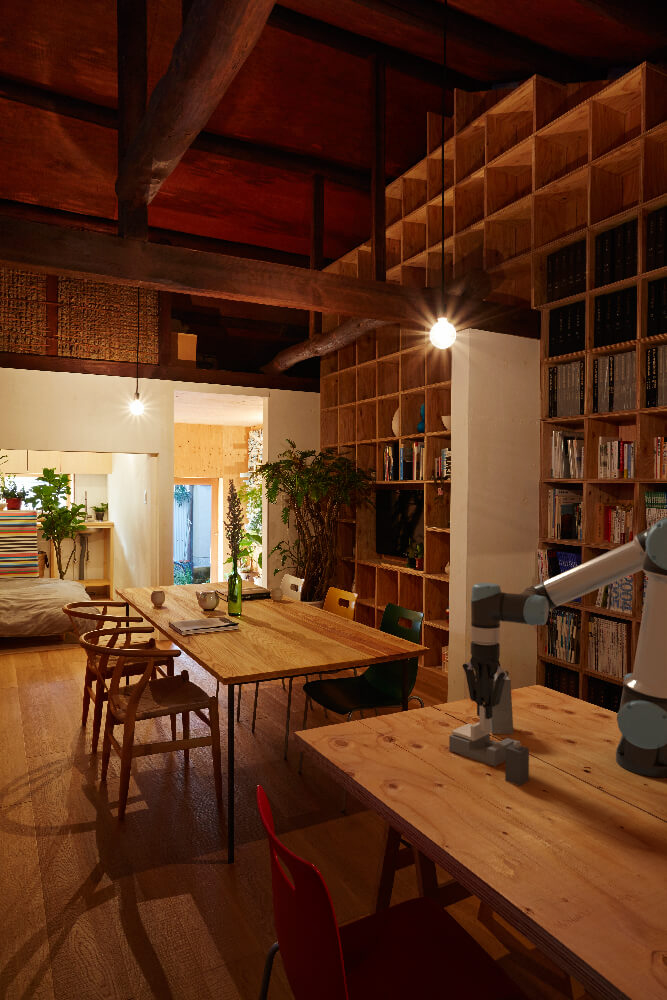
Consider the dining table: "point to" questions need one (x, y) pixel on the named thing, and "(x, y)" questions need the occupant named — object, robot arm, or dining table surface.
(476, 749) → the socket
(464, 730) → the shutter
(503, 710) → the skincare box
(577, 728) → the dining table surface
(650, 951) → the dining table surface
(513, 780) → the plug
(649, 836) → the dining table surface
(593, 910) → the dining table surface
